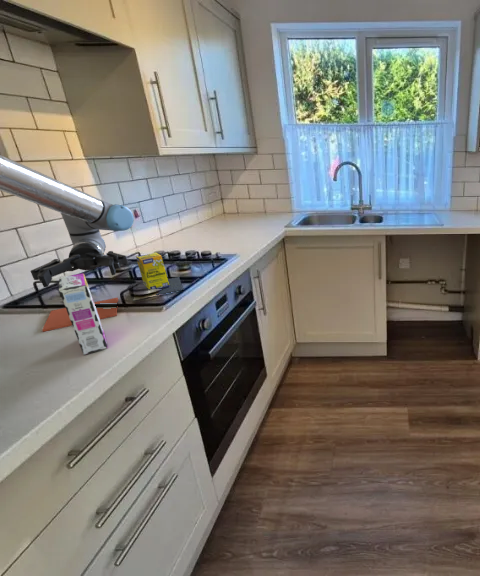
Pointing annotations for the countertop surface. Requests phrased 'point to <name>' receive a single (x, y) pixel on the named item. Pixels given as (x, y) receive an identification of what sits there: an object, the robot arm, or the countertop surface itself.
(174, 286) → the slate mat
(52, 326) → the terracotta mat
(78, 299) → the candy bar box
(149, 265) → the supplement box
